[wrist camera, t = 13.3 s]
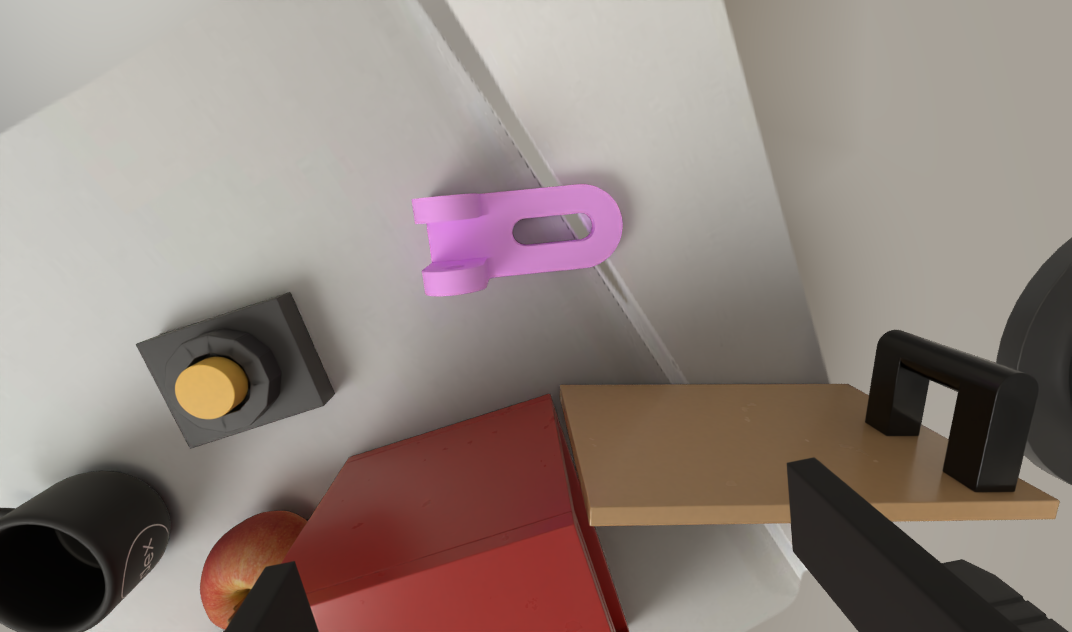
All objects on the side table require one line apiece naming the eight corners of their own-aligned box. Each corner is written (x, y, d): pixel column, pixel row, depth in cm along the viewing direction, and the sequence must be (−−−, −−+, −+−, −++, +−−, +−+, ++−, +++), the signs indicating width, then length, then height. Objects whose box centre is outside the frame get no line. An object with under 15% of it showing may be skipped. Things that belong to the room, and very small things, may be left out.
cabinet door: (561, 305, 37) (595, 379, 22) (859, 306, 38) (1092, 378, 23) (559, 397, 39) (589, 526, 23) (846, 396, 40) (1055, 519, 24)
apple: (274, 598, 42) (219, 691, 34) (215, 522, 40) (142, 600, 32) (360, 555, 41) (324, 639, 33) (303, 476, 39) (251, 544, 32)
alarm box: (290, 292, 36) (263, 303, 32) (335, 394, 38) (314, 416, 34) (157, 335, 36) (114, 352, 33) (208, 434, 38) (173, 461, 34)
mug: (191, 474, 39) (121, 533, 32) (176, 575, 41) (107, 652, 34) (22, 438, 38) (-89, 491, 31) (14, 543, 40) (-92, 617, 33)
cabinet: (549, 393, 39) (574, 523, 23) (628, 626, 44) (691, 864, 28) (348, 457, 39) (238, 627, 24) (448, 681, 44) (412, 945, 28)
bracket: (437, 280, 36) (420, 298, 30) (426, 199, 35) (405, 199, 28) (620, 261, 37) (644, 275, 30) (616, 180, 35) (640, 176, 29)
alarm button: (234, 349, 33) (219, 357, 32) (257, 399, 34) (244, 409, 32) (182, 366, 33) (164, 375, 32) (206, 415, 34) (190, 426, 32)
